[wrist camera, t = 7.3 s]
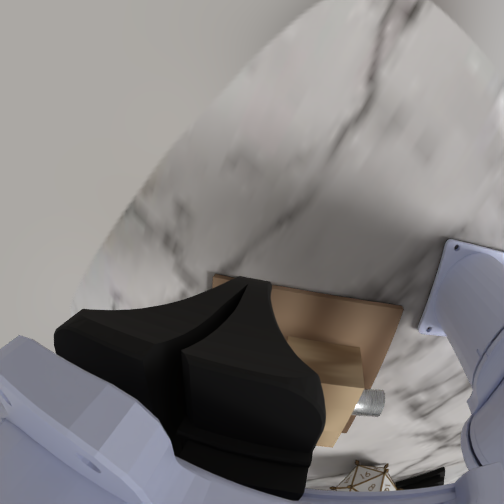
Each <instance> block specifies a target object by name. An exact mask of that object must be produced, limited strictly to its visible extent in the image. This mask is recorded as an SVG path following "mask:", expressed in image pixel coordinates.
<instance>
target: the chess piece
mask: <svg viewBox="0 0 504 504" xmlns="http://www.w3.org/2000/svg"><path fill="white" fill-rule="evenodd" d="M444 476H445V468H444V467H443V468H440V469H437V470H434V471H432V472H429V473H426V474H423V475H420V476H417V477H413V478H410V479H407V480H403V481H400V482H396V487H397V489H399V488H402V489H403V490H410V489H420V488H428V487H435V486H441V485H444Z"/></svg>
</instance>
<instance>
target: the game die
mask: <svg viewBox="0 0 504 504" xmlns="http://www.w3.org/2000/svg"><path fill="white" fill-rule="evenodd" d="M355 464H356V465H357V466H356V467H355V468H354V469H353V471H352V472H351V473H350V474H349V475H348V476H347V477H346V478H345V479H344V480H343V481H342V482H341V483H340V484H339V485H338V486H337V487H333V486H332V487H330V489H331V490H336V491H352V492H377V491H398V490H403V489H402V488H399V489H397V487H396V486H395V484H394V482H393V481H392V479H391V477H390V475H389V474H388V471H389V470H388V469H386V468H387V467H388V464H386V465H385V466H384V468H382V467H372V466H364V465H359V461H357V460H356V461H355Z"/></svg>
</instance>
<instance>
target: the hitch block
mask: <svg viewBox="0 0 504 504" xmlns="http://www.w3.org/2000/svg"><path fill="white" fill-rule="evenodd" d="M232 279H234V277H228V276H223V275H218V274H215V275H214V276H213V287H212V288H215V287H217V286H219V285H221V284H223V283H225V282H227V281H229V280H232ZM271 303H272V308H273V312H274V315H275V318H276V321H277V324H278V326H279V328H280V330H281V332H282V334H283V336H284V338H285V340H286V341H287V343H288V344H289V345H290V347H291V348H292V350H293V351H294V352H295V354H296V355H297V356H298V357H299V358H300V359H301V360H302V361H303V362H304V363H305V364H307V365H308V366H309V367H310V368H311V369H312V370H314V371H315V372H316V373H317V374H318V375H319V378H320V381H321V385H322V389H323V394H324V399H325V407H326V423H325V427H324V430H323V432H322V434H321V436H320V438H319V440H318V442H317V444H316V446H324V447H333V446H334V444H335V443H336V441H337V439H338V437H339V436H340V434H341V433H347V431H348V429H349V428H350V426H351V424H352V422H353V421H354V419H355V417H356V415H351V414H352V412H353V410H354V408H355V406H356V405H357V403H358V401H359V399H360V397H361V395H362V393H363V390H364V389H370V388H371V386H372V384H373V382H374V380H375V378H376V376H377V374H378V372H379V369H380V367H381V365H382V363H383V360H384V358H385V356H386V354H387V351H388V349H389V346H390V344H391V342H392V339H393V337H394V334H395V332H396V329H397V326H398V324H399V321H400V318H401V316H402V313H403V310H404V309H403V307H402V306H400V305H393V304H386V303H379V302H373V301H366V300H360V299H353V298H347V297H341V296H335V295H329V294H323V293H317V292H311V291H305V290H299V289H294V288H288V287H282V286H277V285H272V291H271Z"/></svg>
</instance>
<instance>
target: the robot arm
mask: <svg viewBox="0 0 504 504" xmlns="http://www.w3.org/2000/svg"><path fill="white" fill-rule="evenodd" d="M456 245H458V248H457V249H456V250H454V247H455V246H456ZM271 291H272V284H271V283H270V282H268V281H262V280H257V279H251V278H246V277H241V276H239V277H236V278H234V279H232V280H229V281H227V282H225V283H223V284H221V285H219V286H217V287H215V288H212V289H210V290H208V291H205V292H203V293H200V294H198V295H195V296H193V297H190V298H187V299H184V300H181V301H177V302H173V303H170V304H165V305H160V306H154V307H148V308H142V309H131V310H89V309H82V310H81V311H79V312H78V313H77V314H75V315H74V316H73V317H71V318H70V319H69V320H67V321H66V322H65V323H64V324H62V325H61V326H60V327H58V328H57V329H56V331H55V333H54V347H55V351H56V354H55V353H54V352H52V351H50V350H49V349H47V348H45V347H44V346H42V345H41V344H39V343H38V342H36V341H35V340H33V339H29V338H27V337H23V336H20V335H19V336H17V337H16V338H15V339H13V340H12V341H11V342H9V343H8V344H7V345H5V346H4V347H2V348H1V349H0V504H504V252H502V251H498V250H494V249H490V248H487V247H483V246H479V245H475V244H471V243H466V242H462V241H458V240H454V239H449V240H447V241H446V243H445V246H444V250H443V254H442V257H441V261H440V264H439V268H438V271H437V274H436V277H435V281H434V284H433V287H432V290H431V293H430V296H429V298H428V301H427V304H426V307H425V309H424V312H423V315H422V317H421V320H420V322H419V325H418V331H419V333H421V334H428V335H438V336H447V338H448V340H449V342H450V344H451V345H452V347H453V349H454V351H455V353H456V355H457V357H458V359H459V361H460V363H461V365H462V367H463V369H464V371H465V374H466V376H467V378H468V380H469V382H470V384H471V387H472V389H473V391H472V394H471V396H470V397H469V399H468V400H467V403H468V406H469V409H470V411H471V414H472V415H471V416H470V417H469V418H468V420H467V421H466V422H465V424H464V426H463V429H462V433H461V449H462V453H463V457H464V461H465V463H466V466H467V468H468V470H469V471H467V472H466V473H465V474H463V475H462V476H461V477H460V478H459V479H458V480H457V481H456V482H455V483H452V484H447V485H441V486H435V487H428V488H420V489H410V490H398V491H377V492H352V491H330V490H317V489H308V488H305V485H306V479H307V473H308V468H309V467H310V465H311V461H312V453H313V450H314V448H315V446H316V444H317V442H318V440H319V438H320V436H321V434H322V432H323V430H324V427H325V423H326V407H325V399H324V394H323V389H322V385H321V381H320V378H319V375H318V374H317V373H316V372H315V371H314V370H312V369H311V368H310V367H309V366H308V365H307V364H305V363H304V362H303V361H302V360H301V359H300V358H299V357H298V356H297V355H296V354H295V352H294V351H293V350H292V348H291V347H290V345H289V344H288V343H287V341H286V340H285V338H284V336H283V334H282V332H281V330H280V328H279V326H278V324H277V321H276V318H275V315H274V312H273V308H272V303H271ZM428 327H430V329H428V330H426V329H427V328H428Z"/></svg>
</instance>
